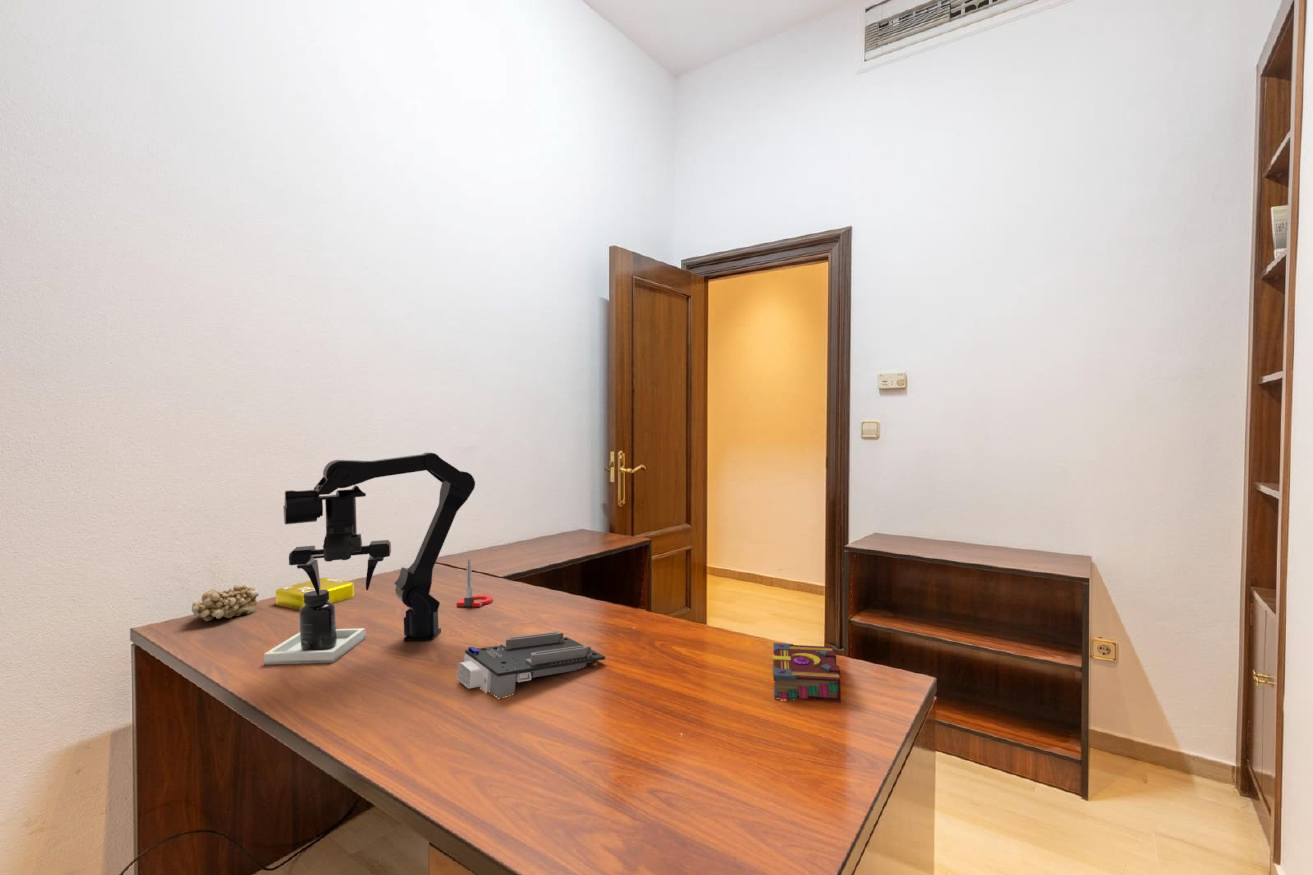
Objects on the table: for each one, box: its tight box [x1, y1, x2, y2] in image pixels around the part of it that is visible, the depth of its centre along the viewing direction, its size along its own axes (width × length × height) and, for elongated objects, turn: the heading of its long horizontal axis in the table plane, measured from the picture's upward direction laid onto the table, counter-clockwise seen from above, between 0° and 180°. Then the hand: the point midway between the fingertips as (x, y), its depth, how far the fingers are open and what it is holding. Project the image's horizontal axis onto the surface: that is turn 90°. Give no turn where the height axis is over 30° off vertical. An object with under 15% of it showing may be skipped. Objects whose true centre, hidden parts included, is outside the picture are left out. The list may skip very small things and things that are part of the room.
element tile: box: [275, 577, 355, 611], centre depth 168 cm, size 15×15×5 cm
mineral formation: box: [191, 583, 261, 622], centre depth 153 cm, size 8×13×15 cm
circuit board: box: [456, 631, 606, 699], centre depth 116 cm, size 25×7×15 cm
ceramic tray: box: [263, 627, 366, 666], centre depth 129 cm, size 14×14×2 cm
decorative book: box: [772, 642, 842, 703], centre depth 108 cm, size 11×16×5 cm
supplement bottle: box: [298, 590, 337, 651], centre depth 129 cm, size 7×7×12 cm
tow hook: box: [456, 557, 493, 609], centre depth 162 cm, size 8×13×9 cm
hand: (343, 592), depth 127 cm, fingers open, 9 cm apart
